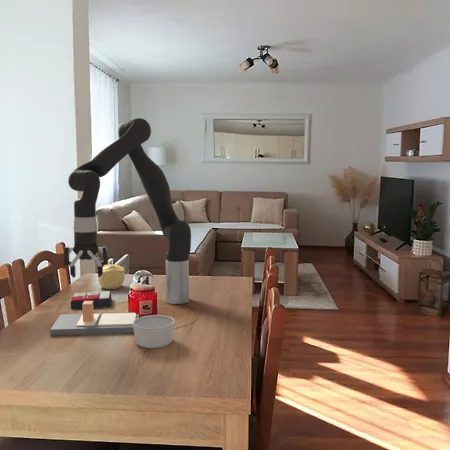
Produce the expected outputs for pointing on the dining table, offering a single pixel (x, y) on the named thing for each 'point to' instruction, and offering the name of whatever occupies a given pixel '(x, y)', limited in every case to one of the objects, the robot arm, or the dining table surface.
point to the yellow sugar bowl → (112, 276)
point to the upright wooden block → (88, 315)
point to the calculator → (92, 299)
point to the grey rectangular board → (104, 324)
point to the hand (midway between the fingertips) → (86, 276)
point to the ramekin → (153, 331)
